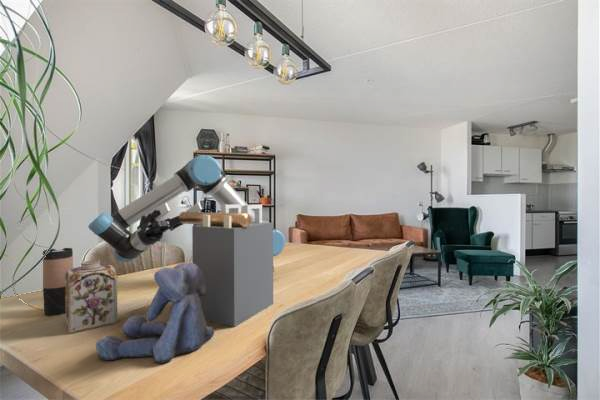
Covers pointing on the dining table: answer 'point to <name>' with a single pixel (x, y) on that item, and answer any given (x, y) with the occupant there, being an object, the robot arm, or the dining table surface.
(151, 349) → the elephant
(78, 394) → the dining table surface
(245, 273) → the grey pedestal with pegs
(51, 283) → the travel mug
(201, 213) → the copper tube
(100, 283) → the decorative jar
